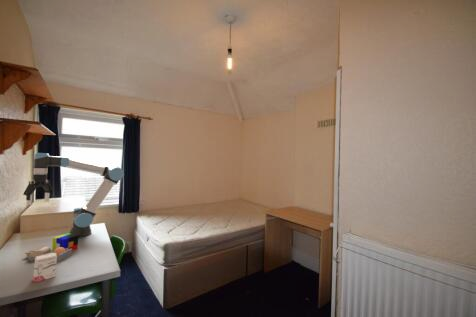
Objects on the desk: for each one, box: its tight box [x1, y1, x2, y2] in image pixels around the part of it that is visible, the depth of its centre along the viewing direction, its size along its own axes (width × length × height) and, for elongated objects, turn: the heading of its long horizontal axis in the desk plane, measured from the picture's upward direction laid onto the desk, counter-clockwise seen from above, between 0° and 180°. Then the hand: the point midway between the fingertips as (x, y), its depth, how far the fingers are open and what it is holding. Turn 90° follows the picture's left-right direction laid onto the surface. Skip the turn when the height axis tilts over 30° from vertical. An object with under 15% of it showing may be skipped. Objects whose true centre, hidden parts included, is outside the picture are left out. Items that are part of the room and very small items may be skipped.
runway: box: [27, 246, 73, 263], centre depth 134 cm, size 10×20×6 cm, turn 91°
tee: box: [24, 250, 36, 259], centre depth 134 cm, size 4×4×3 cm
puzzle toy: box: [51, 232, 79, 252], centre depth 145 cm, size 10×10×10 cm
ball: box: [53, 247, 65, 256], centre depth 134 cm, size 6×6×6 cm
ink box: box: [32, 253, 58, 283], centre depth 111 cm, size 9×5×12 cm, turn 139°
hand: (38, 203), depth 149 cm, fingers open, 13 cm apart
